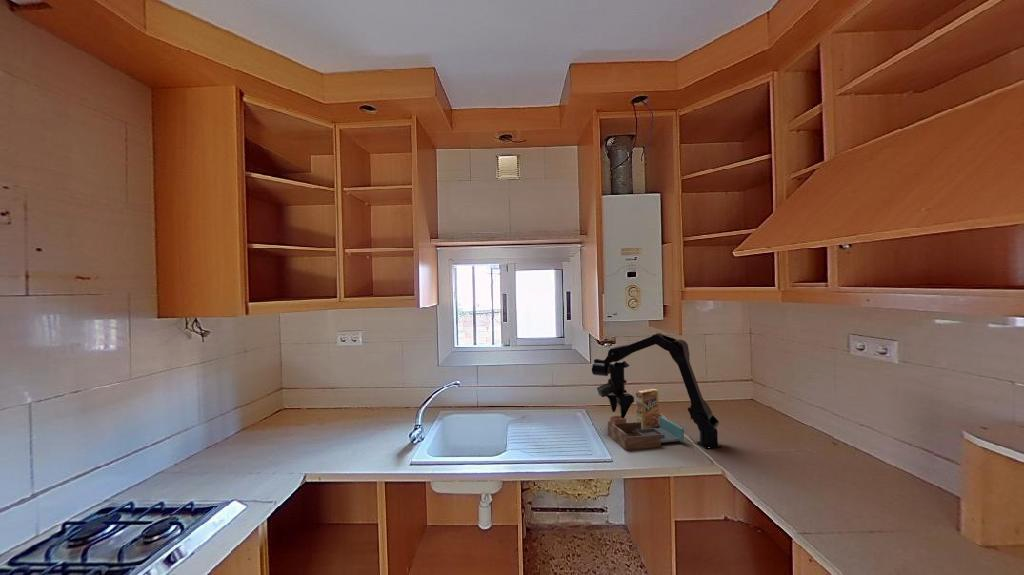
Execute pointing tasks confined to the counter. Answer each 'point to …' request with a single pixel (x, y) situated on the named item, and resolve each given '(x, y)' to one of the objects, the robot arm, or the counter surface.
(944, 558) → the counter surface
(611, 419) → the terracotta block
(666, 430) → the sliding tray
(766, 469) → the counter surface
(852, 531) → the counter surface
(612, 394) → the robot arm
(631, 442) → the caddy frame
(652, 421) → the candy box
